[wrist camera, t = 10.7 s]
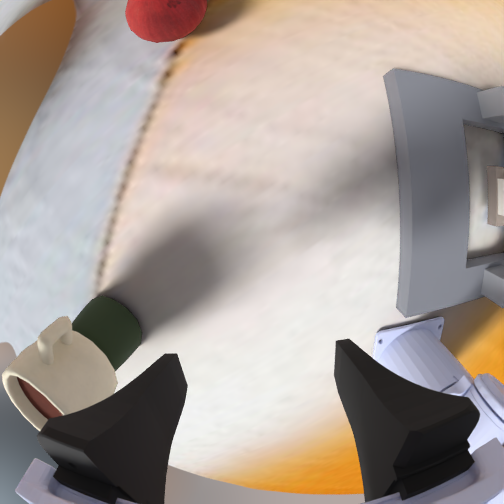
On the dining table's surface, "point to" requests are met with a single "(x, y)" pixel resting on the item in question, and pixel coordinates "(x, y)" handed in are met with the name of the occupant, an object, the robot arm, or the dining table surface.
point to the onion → (164, 18)
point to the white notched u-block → (495, 195)
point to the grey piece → (439, 190)
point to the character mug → (73, 362)
